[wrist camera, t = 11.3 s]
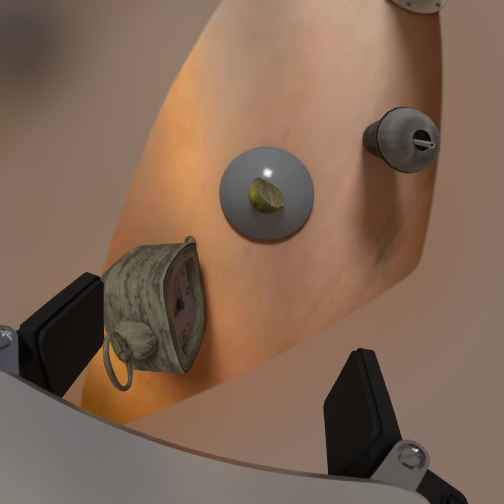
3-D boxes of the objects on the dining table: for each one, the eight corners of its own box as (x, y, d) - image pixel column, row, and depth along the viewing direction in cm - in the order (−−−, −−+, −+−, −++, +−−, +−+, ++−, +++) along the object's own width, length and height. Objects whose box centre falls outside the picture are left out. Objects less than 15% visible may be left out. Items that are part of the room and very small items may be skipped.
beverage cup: (407, 156, 40) (485, 171, 21) (363, 171, 42) (420, 196, 23) (390, 108, 38) (461, 90, 20) (345, 123, 40) (392, 109, 21)
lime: (251, 175, 43) (247, 180, 38) (286, 179, 42) (287, 184, 38) (248, 207, 44) (244, 215, 39) (283, 211, 44) (283, 220, 39)
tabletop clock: (213, 312, 52) (167, 430, 28) (162, 312, 53) (95, 417, 29) (201, 226, 47) (126, 310, 23) (146, 230, 48) (46, 306, 24)
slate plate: (232, 137, 42) (231, 137, 41) (324, 161, 42) (325, 162, 41) (212, 225, 47) (210, 226, 46) (298, 248, 46) (298, 250, 46)
